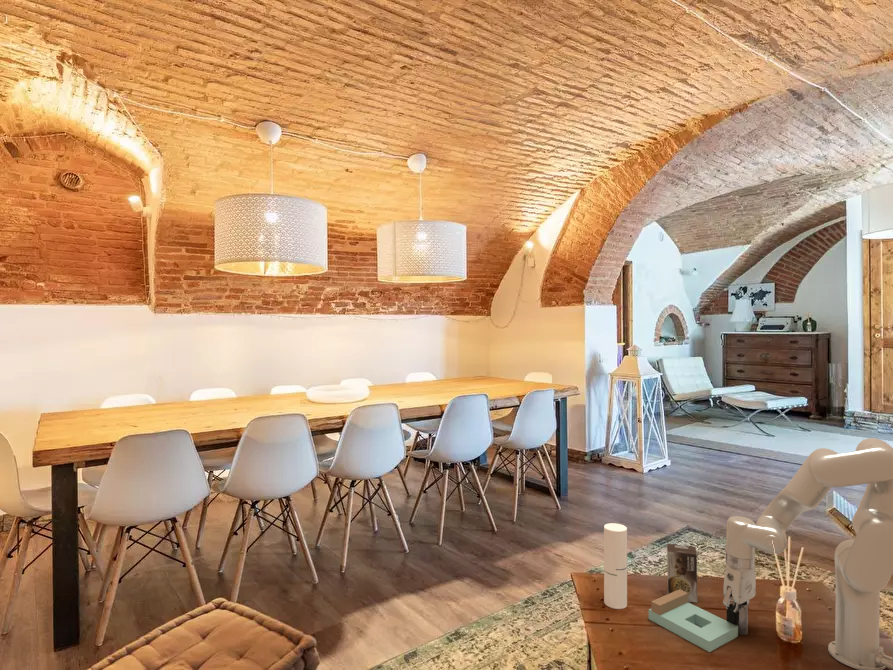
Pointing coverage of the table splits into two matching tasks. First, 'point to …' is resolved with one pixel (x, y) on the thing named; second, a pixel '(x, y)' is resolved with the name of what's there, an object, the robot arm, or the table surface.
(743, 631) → the grey upright block
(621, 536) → the cylindrical container
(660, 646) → the table surface
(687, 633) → the jig
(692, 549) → the coffee box
